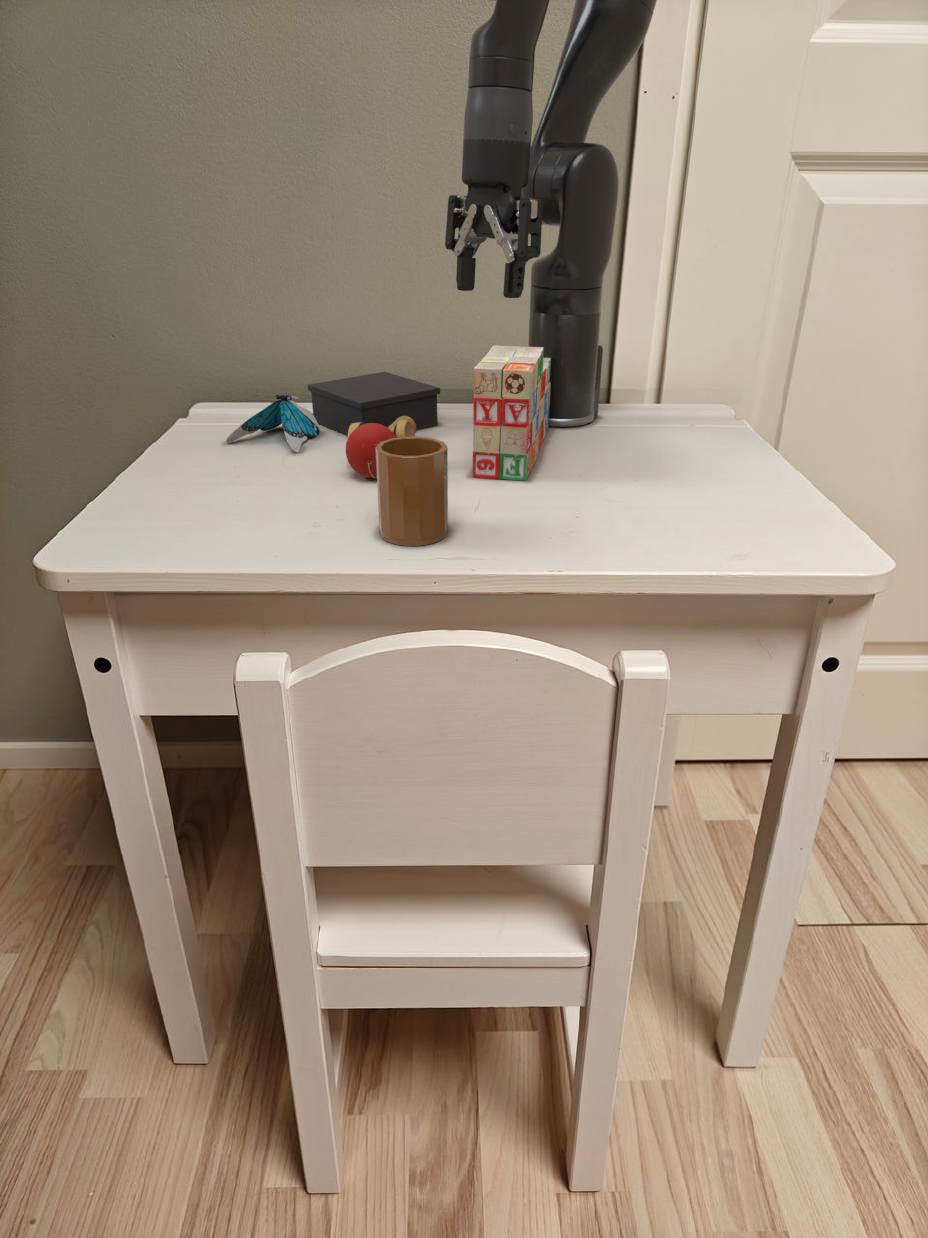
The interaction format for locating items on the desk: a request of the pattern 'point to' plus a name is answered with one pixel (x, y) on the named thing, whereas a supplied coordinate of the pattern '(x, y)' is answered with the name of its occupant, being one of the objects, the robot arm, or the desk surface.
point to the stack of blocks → (510, 411)
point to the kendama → (373, 442)
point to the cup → (412, 490)
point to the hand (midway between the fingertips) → (488, 293)
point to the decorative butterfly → (281, 422)
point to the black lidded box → (373, 401)
